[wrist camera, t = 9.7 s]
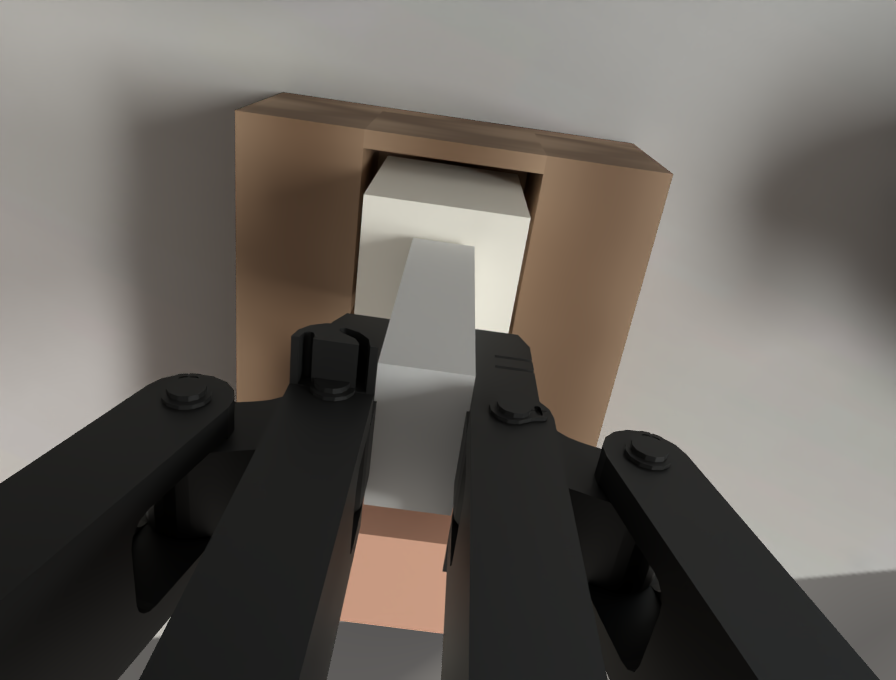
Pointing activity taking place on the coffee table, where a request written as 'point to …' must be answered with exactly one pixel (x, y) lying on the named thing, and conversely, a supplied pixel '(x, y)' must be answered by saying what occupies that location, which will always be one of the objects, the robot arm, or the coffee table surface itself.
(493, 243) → the cream short block
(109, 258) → the coffee table surface
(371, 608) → the terracotta key
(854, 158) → the coffee table surface
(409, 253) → the robot arm
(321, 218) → the wooden block tray
